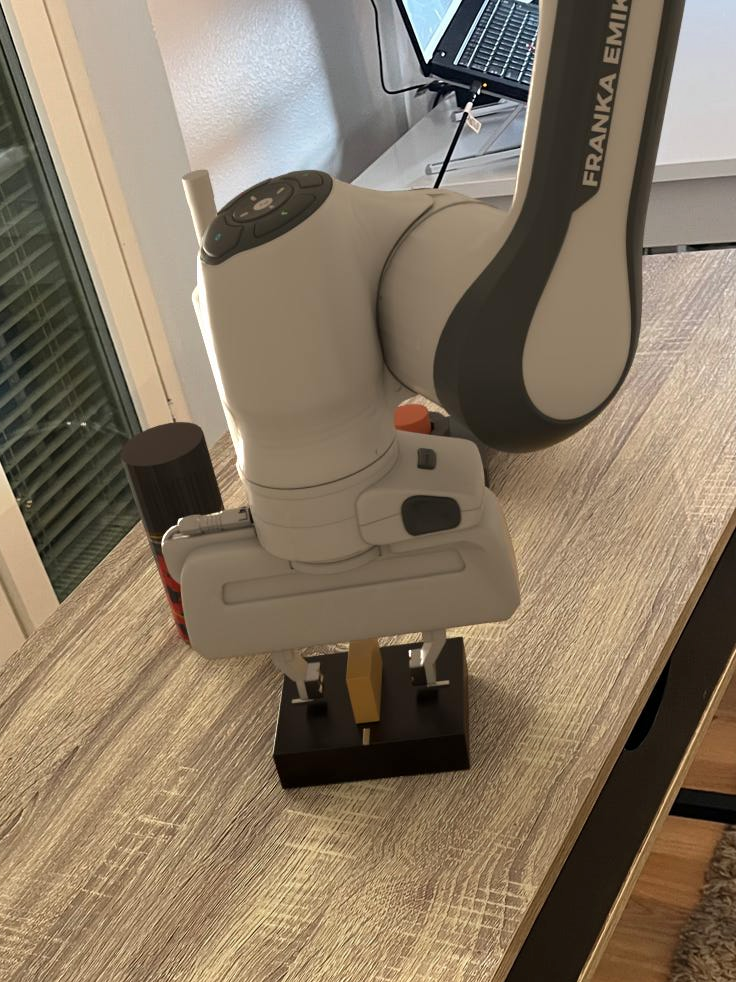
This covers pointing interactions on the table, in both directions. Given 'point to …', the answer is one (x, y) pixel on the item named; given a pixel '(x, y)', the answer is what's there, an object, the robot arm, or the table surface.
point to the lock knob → (364, 679)
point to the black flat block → (376, 723)
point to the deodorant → (170, 490)
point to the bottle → (202, 215)
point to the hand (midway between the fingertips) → (368, 686)
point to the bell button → (412, 419)
